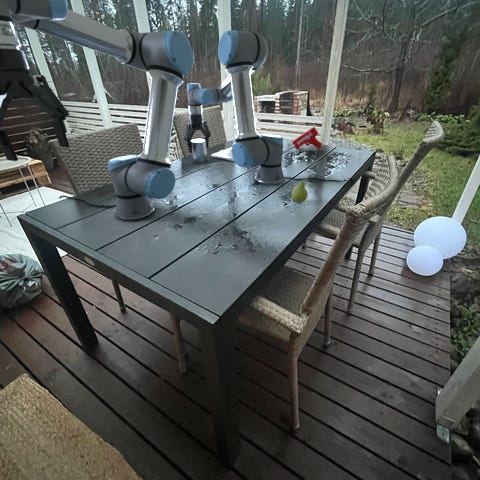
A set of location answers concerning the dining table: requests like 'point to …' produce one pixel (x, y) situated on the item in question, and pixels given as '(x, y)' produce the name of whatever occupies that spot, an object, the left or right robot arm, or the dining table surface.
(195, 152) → the tin
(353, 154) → the dining table surface
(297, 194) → the fruit
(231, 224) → the dining table surface
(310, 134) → the toy gun
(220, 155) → the relief map
